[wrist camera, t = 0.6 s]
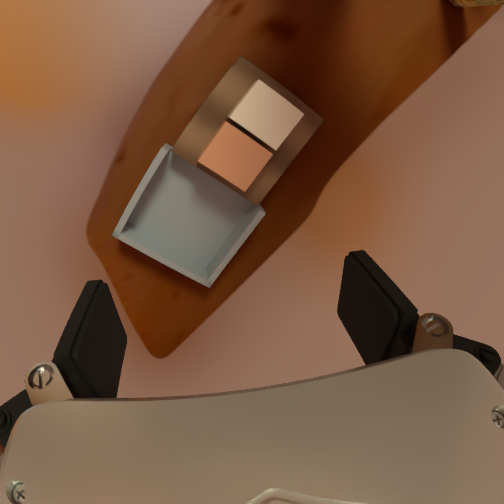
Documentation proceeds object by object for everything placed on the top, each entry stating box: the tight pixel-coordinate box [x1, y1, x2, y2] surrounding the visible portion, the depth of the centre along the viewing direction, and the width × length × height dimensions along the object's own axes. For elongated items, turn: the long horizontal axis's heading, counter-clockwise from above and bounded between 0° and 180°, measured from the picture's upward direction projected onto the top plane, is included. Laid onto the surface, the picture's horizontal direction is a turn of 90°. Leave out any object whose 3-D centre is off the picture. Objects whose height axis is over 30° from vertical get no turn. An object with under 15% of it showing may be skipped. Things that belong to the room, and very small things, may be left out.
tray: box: [112, 143, 266, 288], centre depth 35 cm, size 12×14×4 cm
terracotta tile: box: [198, 120, 273, 192], centre depth 31 cm, size 5×6×2 cm
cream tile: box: [227, 80, 304, 150], centre depth 29 cm, size 5×6×2 cm
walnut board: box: [171, 56, 324, 206], centre depth 32 cm, size 13×12×3 cm
